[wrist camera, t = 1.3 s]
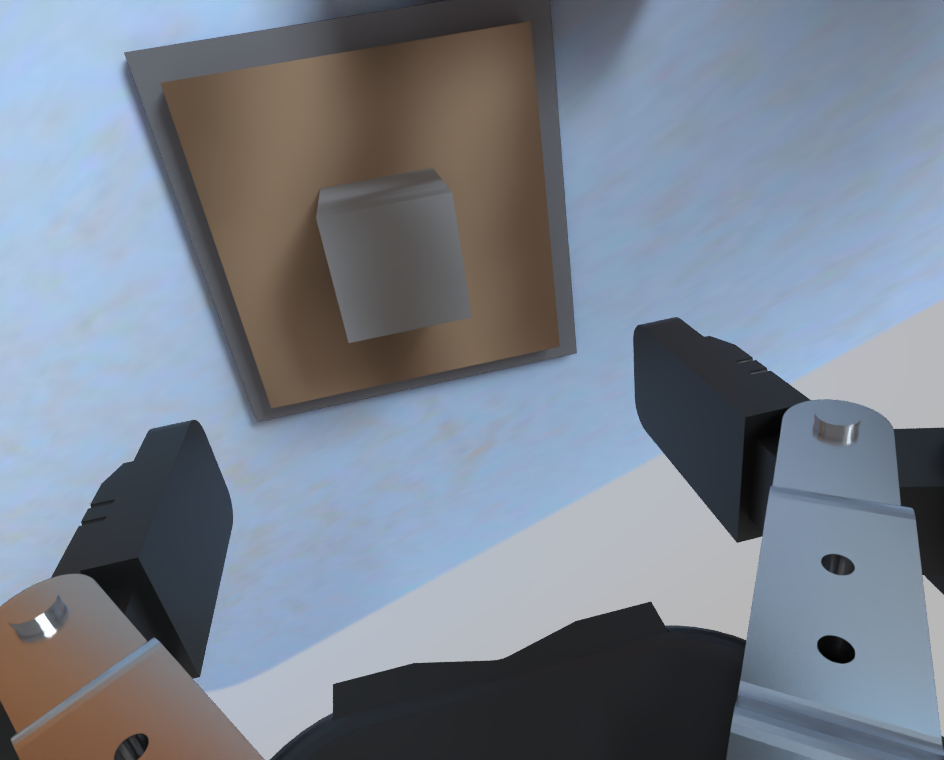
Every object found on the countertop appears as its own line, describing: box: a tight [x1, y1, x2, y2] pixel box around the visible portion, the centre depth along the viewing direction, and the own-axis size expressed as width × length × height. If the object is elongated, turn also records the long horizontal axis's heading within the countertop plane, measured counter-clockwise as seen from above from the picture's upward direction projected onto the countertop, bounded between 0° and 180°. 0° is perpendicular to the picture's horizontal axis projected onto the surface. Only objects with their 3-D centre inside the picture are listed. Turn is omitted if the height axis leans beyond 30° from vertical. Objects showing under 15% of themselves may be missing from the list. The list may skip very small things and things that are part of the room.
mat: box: [124, 0, 577, 422], centre depth 25 cm, size 14×14×1 cm
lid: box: [160, 21, 560, 408], centre depth 22 cm, size 12×12×6 cm
